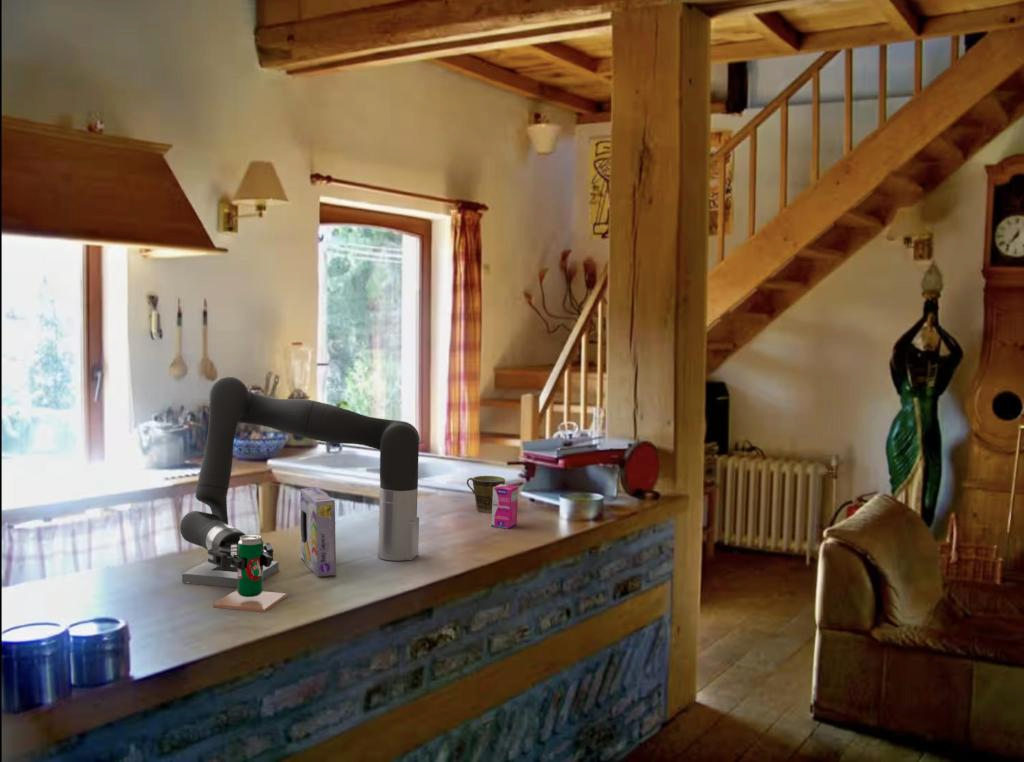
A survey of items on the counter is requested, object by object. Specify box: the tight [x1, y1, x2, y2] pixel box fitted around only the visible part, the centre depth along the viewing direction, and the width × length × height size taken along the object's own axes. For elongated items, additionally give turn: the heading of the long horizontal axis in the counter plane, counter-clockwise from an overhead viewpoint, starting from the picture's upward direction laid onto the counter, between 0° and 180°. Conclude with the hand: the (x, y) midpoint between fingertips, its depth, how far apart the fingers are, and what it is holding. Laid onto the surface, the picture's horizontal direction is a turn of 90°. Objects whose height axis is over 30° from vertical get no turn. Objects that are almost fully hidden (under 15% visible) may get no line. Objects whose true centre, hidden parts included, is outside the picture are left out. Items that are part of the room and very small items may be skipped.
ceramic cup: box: [466, 475, 506, 514], centre depth 302 cm, size 13×10×10 cm
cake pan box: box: [299, 486, 337, 578], centre depth 232 cm, size 19×5×18 cm, turn 23°
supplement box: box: [491, 484, 519, 530], centre depth 282 cm, size 6×6×12 cm
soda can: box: [236, 534, 264, 597], centre depth 204 cm, size 5×5×12 cm
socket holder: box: [181, 559, 280, 588], centre depth 222 cm, size 16×16×2 cm
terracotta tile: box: [212, 589, 288, 613], centre depth 204 cm, size 11×11×1 cm
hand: (256, 563), depth 202 cm, fingers closed on soda can, 4 cm apart
